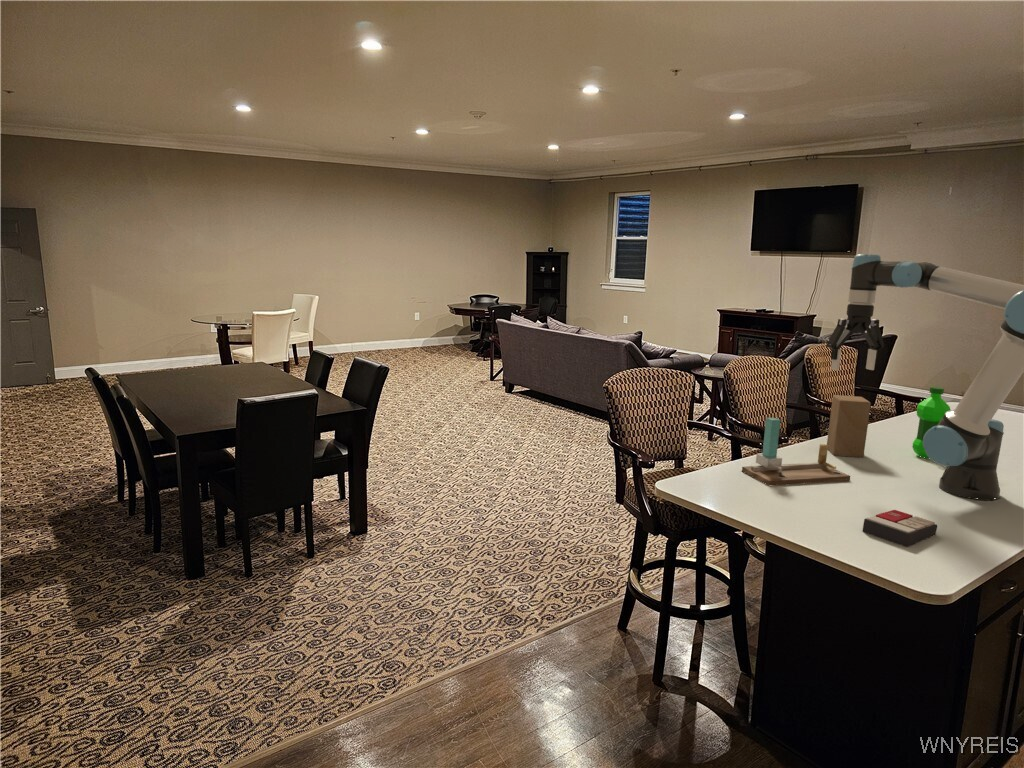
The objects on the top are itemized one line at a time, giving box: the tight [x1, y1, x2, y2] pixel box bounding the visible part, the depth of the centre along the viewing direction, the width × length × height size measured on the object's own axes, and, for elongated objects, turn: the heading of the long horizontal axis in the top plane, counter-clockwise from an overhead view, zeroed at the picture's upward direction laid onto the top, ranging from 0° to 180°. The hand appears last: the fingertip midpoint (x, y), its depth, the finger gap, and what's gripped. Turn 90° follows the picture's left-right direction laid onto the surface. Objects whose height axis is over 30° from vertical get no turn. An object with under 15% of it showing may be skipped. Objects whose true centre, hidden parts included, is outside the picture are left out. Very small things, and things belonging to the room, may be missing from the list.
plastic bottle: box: [911, 386, 952, 459], centre depth 234 cm, size 10×10×25 cm
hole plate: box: [741, 443, 851, 486], centre depth 209 cm, size 14×29×9 cm, turn 105°
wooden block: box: [826, 394, 872, 458], centre depth 236 cm, size 10×10×20 cm
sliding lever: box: [755, 417, 783, 475], centre depth 207 cm, size 9×5×16 cm, turn 15°
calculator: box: [861, 509, 938, 548], centre depth 167 cm, size 11×4×15 cm
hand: (852, 369), depth 215 cm, fingers open, 13 cm apart
